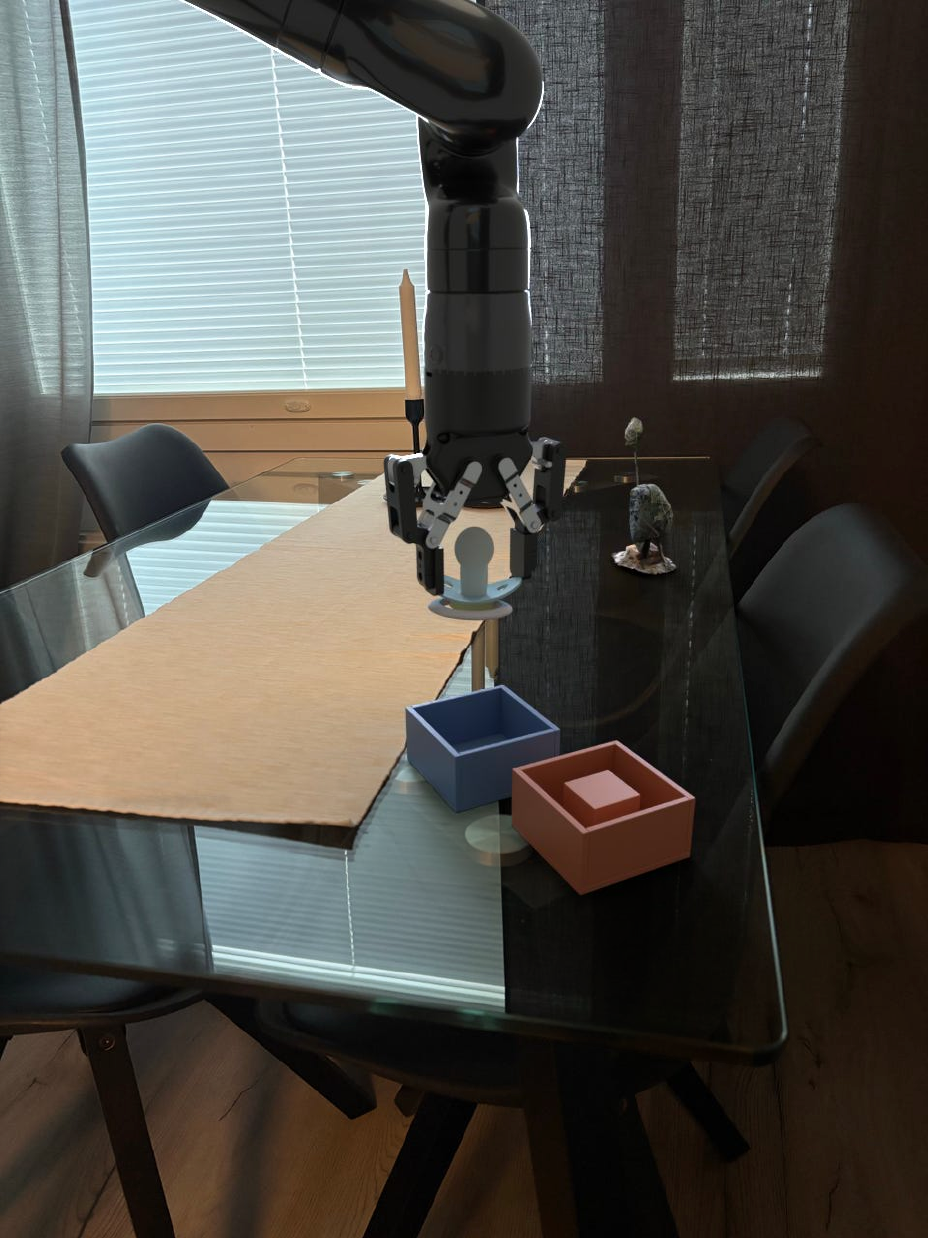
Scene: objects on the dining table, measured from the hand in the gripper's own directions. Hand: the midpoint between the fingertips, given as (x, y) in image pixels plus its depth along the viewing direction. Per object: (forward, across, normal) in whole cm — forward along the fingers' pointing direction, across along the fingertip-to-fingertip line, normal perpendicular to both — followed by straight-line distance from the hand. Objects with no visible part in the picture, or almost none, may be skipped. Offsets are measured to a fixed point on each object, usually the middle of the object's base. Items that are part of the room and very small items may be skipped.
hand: (477, 584), depth 72 cm
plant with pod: (+18, -46, -39) cm, 63 cm away
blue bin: (+17, -1, -2) cm, 18 cm away
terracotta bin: (+17, -4, +11) cm, 21 cm away
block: (+17, -4, +11) cm, 21 cm away
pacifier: (+2, +1, 0) cm, 2 cm away
